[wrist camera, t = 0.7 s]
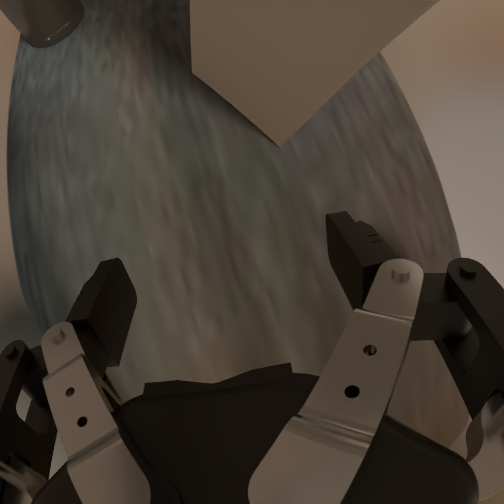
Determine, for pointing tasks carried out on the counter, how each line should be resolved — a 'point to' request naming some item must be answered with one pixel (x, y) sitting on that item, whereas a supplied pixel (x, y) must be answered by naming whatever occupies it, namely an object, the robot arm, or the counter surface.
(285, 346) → the counter surface
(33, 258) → the counter surface
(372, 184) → the counter surface
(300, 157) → the counter surface
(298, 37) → the cabinet
